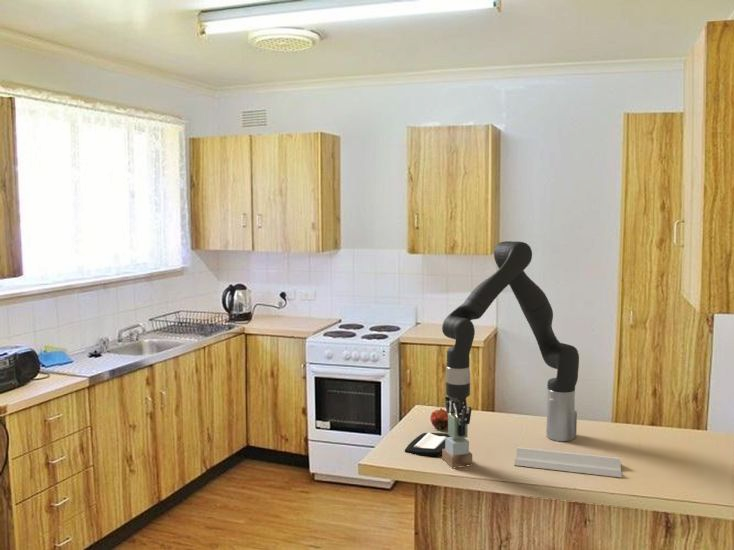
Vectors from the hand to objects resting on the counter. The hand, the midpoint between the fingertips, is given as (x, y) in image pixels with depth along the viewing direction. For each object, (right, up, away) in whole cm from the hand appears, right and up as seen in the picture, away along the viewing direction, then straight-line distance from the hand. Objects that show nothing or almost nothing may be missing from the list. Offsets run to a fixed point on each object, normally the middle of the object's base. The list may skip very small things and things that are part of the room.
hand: (457, 433), depth 205 cm
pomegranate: (-2, -7, +33) cm, 34 cm away
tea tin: (0, -1, 0) cm, 1 cm away
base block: (0, -10, +1) cm, 10 cm away
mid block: (0, -6, +1) cm, 6 cm away
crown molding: (+34, -10, -1) cm, 36 cm away
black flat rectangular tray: (-7, -9, +16) cm, 20 cm away
